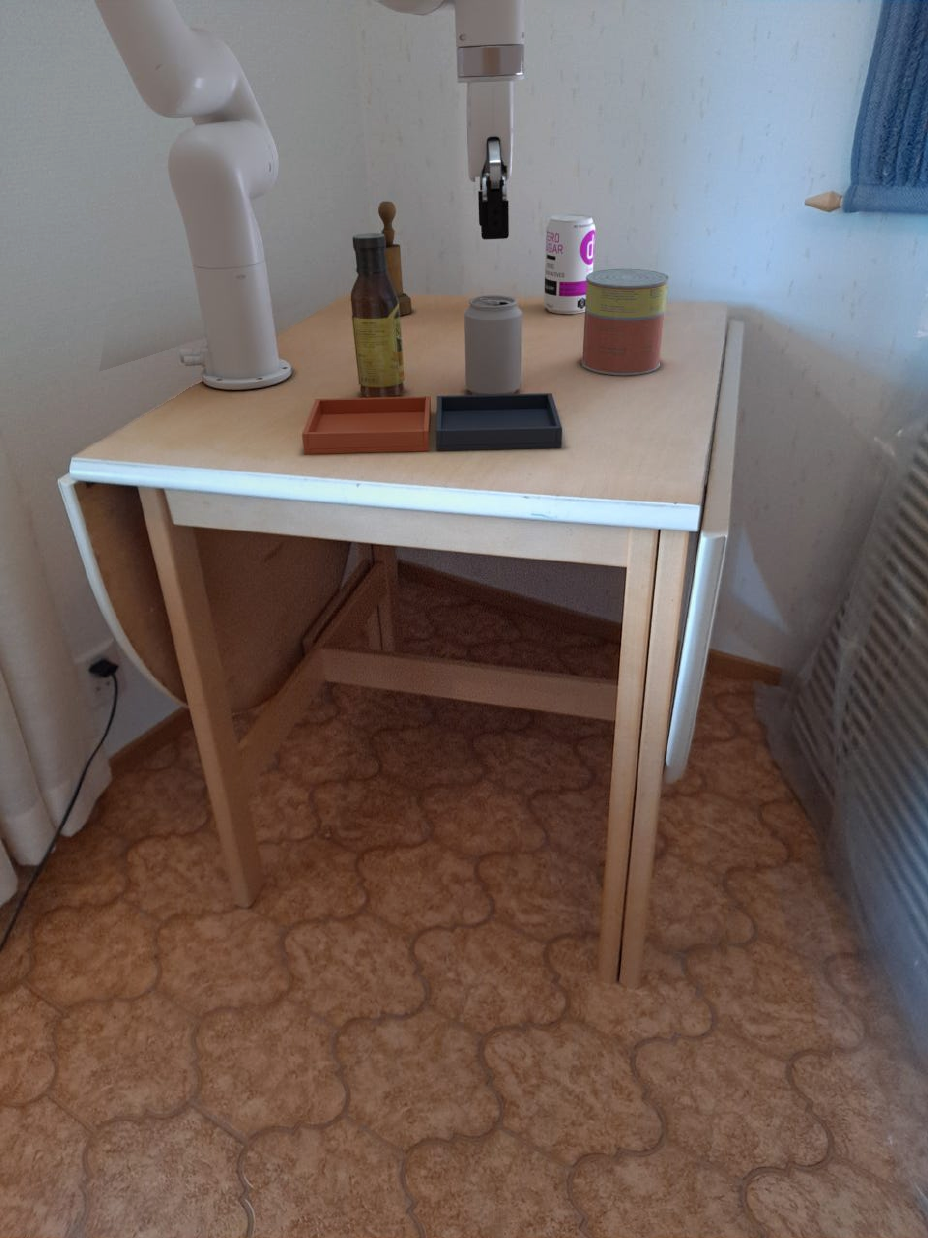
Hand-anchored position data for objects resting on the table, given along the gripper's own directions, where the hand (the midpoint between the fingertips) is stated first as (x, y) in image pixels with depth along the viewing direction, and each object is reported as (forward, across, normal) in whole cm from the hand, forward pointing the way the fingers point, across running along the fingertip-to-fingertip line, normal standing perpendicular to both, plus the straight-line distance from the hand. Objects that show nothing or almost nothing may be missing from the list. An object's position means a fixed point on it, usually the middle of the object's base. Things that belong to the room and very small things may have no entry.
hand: (493, 231), depth 106 cm
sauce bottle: (+20, 0, -15) cm, 25 cm away
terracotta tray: (+20, +14, -16) cm, 29 cm away
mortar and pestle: (+20, -45, -16) cm, 52 cm away
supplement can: (+20, -44, +15) cm, 50 cm away
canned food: (+20, -11, +19) cm, 30 cm away
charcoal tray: (+20, +15, -1) cm, 25 cm away
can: (+20, 0, 0) cm, 20 cm away
